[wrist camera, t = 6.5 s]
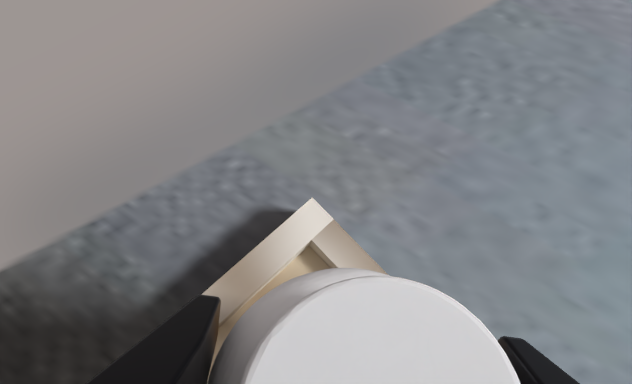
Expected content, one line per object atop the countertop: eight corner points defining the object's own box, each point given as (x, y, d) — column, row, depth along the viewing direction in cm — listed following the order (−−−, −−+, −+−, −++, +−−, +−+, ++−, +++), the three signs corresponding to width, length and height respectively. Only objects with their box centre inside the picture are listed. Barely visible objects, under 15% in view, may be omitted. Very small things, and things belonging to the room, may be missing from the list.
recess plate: (297, 603, 16) (302, 634, 15) (118, 379, 18) (102, 381, 16) (475, 385, 20) (498, 387, 18) (307, 212, 21) (312, 197, 19)
